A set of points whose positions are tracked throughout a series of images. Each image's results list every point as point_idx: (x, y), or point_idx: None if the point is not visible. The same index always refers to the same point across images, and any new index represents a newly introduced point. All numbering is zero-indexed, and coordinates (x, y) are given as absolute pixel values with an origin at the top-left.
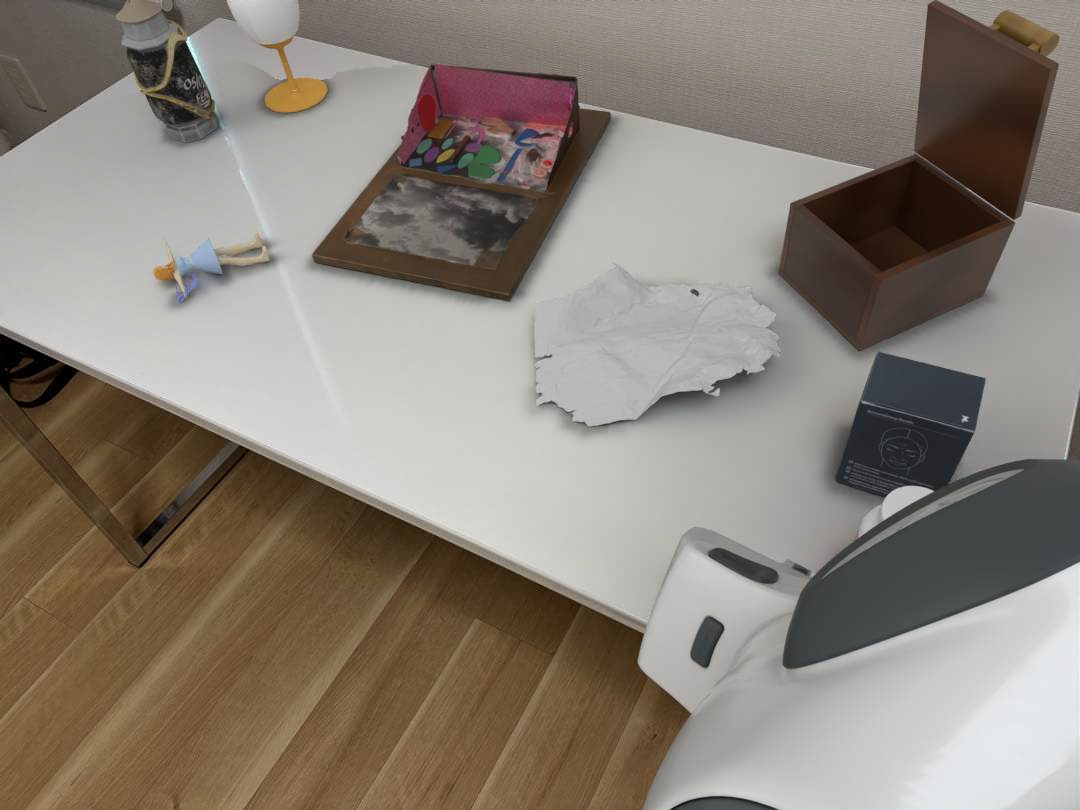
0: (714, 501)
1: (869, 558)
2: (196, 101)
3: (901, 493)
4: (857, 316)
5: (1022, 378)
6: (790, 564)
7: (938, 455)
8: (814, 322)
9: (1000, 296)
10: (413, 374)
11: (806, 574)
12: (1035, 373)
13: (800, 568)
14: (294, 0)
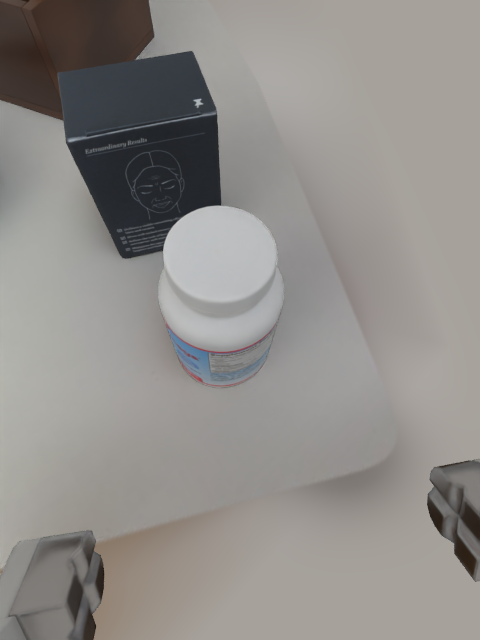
0: (8, 358)
1: None
2: None
3: (180, 232)
4: (48, 83)
5: (220, 87)
6: (10, 586)
7: (195, 170)
8: (22, 117)
9: (167, 32)
10: None
11: (62, 595)
12: (226, 79)
13: (47, 568)
14: None
